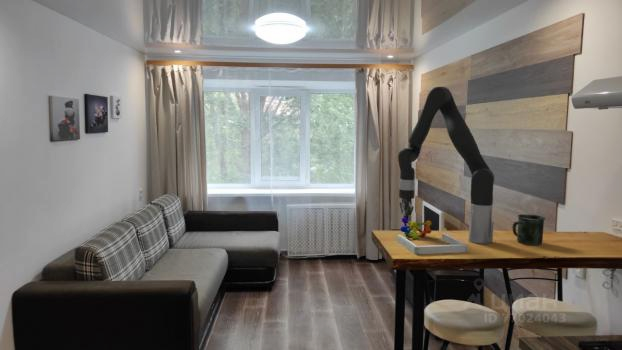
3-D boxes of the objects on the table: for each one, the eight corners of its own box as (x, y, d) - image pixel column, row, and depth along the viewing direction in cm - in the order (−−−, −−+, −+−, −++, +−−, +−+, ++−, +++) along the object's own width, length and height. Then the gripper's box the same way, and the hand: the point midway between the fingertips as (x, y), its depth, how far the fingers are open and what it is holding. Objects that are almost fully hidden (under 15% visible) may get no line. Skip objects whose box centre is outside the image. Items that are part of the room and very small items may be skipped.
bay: (444, 239, 201) (444, 233, 201) (467, 252, 181) (468, 245, 180) (397, 241, 197) (397, 234, 197) (415, 254, 177) (415, 247, 177)
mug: (549, 245, 193) (551, 218, 192) (520, 247, 190) (522, 220, 189) (531, 239, 204) (533, 213, 202) (504, 240, 201) (505, 215, 199)
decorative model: (430, 233, 196) (398, 221, 201) (425, 249, 200) (393, 237, 205) (435, 220, 207) (405, 210, 212) (430, 236, 211) (400, 225, 216)
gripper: (419, 190, 209) (418, 225, 211) (409, 186, 222) (407, 220, 224) (404, 190, 208) (403, 226, 210) (395, 186, 221) (393, 220, 223)
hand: (405, 222), depth 217 cm, fingers closed
